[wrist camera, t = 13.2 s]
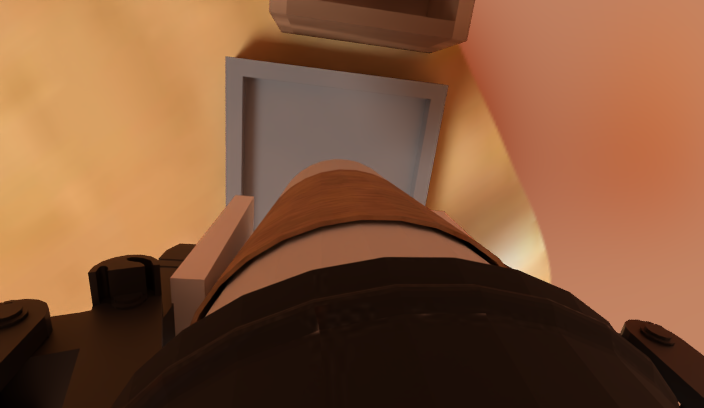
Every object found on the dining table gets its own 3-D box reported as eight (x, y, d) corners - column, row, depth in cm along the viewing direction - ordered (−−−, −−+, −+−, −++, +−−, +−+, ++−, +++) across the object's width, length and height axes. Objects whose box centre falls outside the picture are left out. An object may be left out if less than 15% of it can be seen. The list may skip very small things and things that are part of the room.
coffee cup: (422, 126, 16) (1344, 433, 2) (418, 282, 18) (749, 905, 4) (239, 136, 15) (-925, 818, 1) (263, 296, 18) (58, 1090, 4)
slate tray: (233, 59, 22) (225, 56, 20) (437, 85, 24) (448, 85, 22) (232, 252, 26) (226, 264, 24) (405, 261, 28) (412, 274, 26)
